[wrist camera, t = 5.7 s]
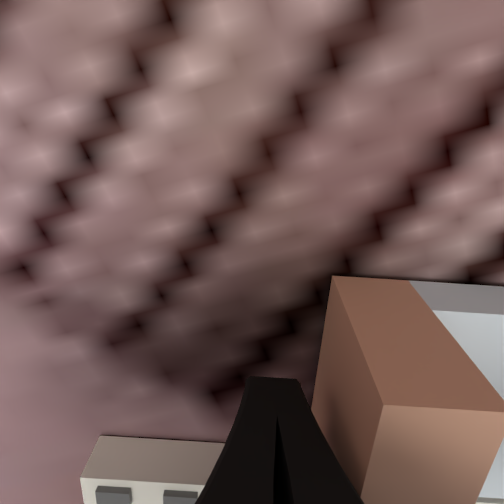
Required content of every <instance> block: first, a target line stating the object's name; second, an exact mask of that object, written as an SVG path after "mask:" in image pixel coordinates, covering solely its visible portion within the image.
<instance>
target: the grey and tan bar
mask: <svg viewBox="0 0 504 504" xmlns="http://www.w3.org/2000/svg"><path fill="white" fill-rule="evenodd" d="M311 411H312V413H313V415H314V417H315V419H316V421H317V423H318V425H319V427H320V429H321V431H322V433H323V435H324V437H325V438H326V440H327V442H328V444H329V446H330V447H331V449H332V451H333V453H334V455H335V456H336V458H337V460H338V462H339V463H340V465H341V467H342V469H343V470H344V472H345V474H346V475H347V477H348V479H349V480H350V482H351V483H352V485H353V487H354V488H355V490H356V491H357V493H358V495H359V496H360V498H361V499H362V501H363V502H364V504H475V503H476V501H477V499H478V497H485V498H501V499H504V287H502V286H487V285H471V284H455V283H440V282H424V281H408V280H393V279H377V278H361V277H346V276H332V280H331V286H330V293H329V299H328V305H327V312H326V318H325V324H324V331H323V337H322V344H321V350H320V356H319V363H318V369H317V375H316V382H315V388H314V395H313V401H312V407H311Z"/></svg>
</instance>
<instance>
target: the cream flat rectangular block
mask: <svg viewBox="0 0 504 504" xmlns="http://www.w3.org/2000/svg"><path fill="white" fill-rule="evenodd" d="M224 445H225V443H211V442H195V441H179V440H163V439H147V438H132V437H116V436H99V438H98V440H97V443H96V445H95V447H94V449H93V451H92V453H91V455H90V457H89V459H88V462H87V464H86V466H85V468H84V470H83V472H82V474H81V476H80V481H81V487H82V494H83V500H84V504H195V502H196V501H197V499H198V497H199V495H200V493H201V492H202V490H203V488H204V486H205V484H206V482H207V480H208V478H209V476H210V474H211V472H212V470H213V468H214V466H215V464H216V462H217V460H218V458H219V456H220V454H221V452H222V450H223V447H224ZM475 504H504V499H501V498H485V497H478V499H477V501H476V503H475Z"/></svg>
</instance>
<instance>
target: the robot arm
mask: <svg viewBox="0 0 504 504" xmlns="http://www.w3.org/2000/svg"><path fill="white" fill-rule="evenodd" d="M195 504H364V502H363V501H362V499H361V498H360V496H359V495H358V493H357V491H356V490H355V488H354V487H353V485H352V483H351V482H350V480H349V479H348V477H347V475H346V474H345V472H344V470H343V469H342V467H341V465H340V463H339V462H338V460H337V458H336V456H335V455H334V453H333V451H332V449H331V447H330V446H329V444H328V442H327V440H326V438H325V437H324V435H323V433H322V431H321V429H320V427H319V425H318V423H317V421H316V419H315V417H314V415H313V413H312V411H311V409H310V406H309V404H308V402H307V400H306V397H305V395H304V393H303V390H302V388H301V385H300V383H299V382H298V381H297V379H287V378H271V377H255V376H250V377H249V378H247V379H246V382H245V389H244V393H243V397H242V401H241V404H240V407H239V410H238V413H237V416H236V419H235V421H234V424H233V426H232V428H231V431H230V433H229V436H228V438H227V440H226V443H225V445H224V447H223V450H222V452H221V454H220V456H219V458H218V460H217V462H216V464H215V466H214V468H213V470H212V472H211V474H210V476H209V478H208V480H207V482H206V484H205V486H204V488H203V490H202V492H201V493H200V495H199V497H198V499H197V501H196V502H195Z"/></svg>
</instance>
